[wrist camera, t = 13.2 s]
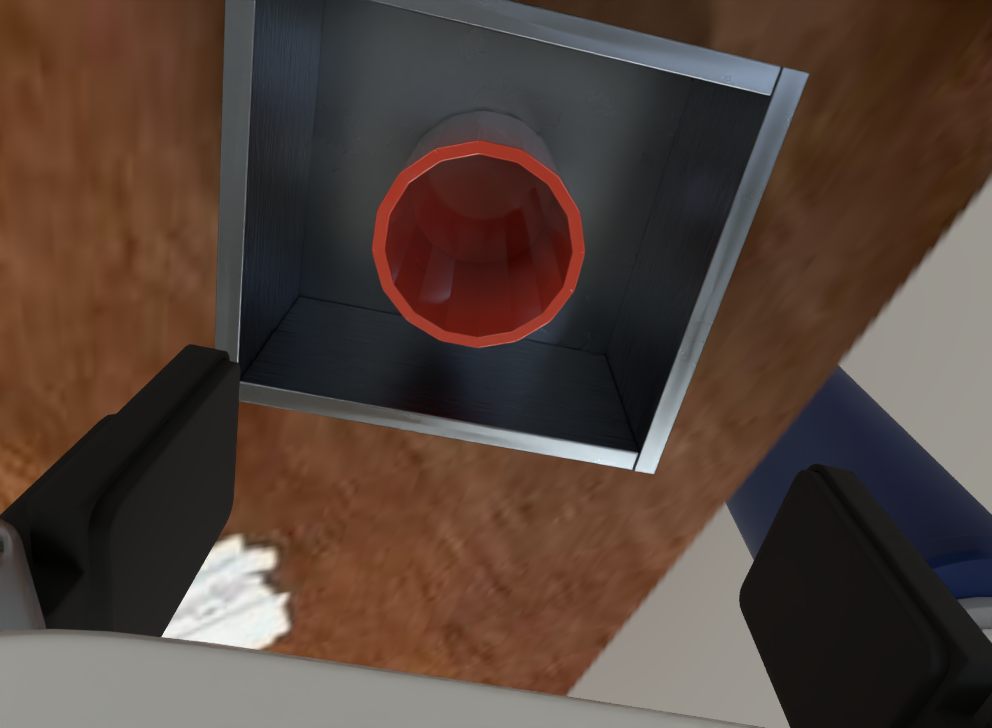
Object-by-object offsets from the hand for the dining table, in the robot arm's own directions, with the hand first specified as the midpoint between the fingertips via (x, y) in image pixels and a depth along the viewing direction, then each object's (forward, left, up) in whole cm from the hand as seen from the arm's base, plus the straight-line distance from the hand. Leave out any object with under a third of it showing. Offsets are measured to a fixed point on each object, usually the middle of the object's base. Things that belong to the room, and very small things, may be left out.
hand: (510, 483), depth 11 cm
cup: (+1, -1, -19) cm, 19 cm away
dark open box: (+1, 0, -20) cm, 20 cm away
